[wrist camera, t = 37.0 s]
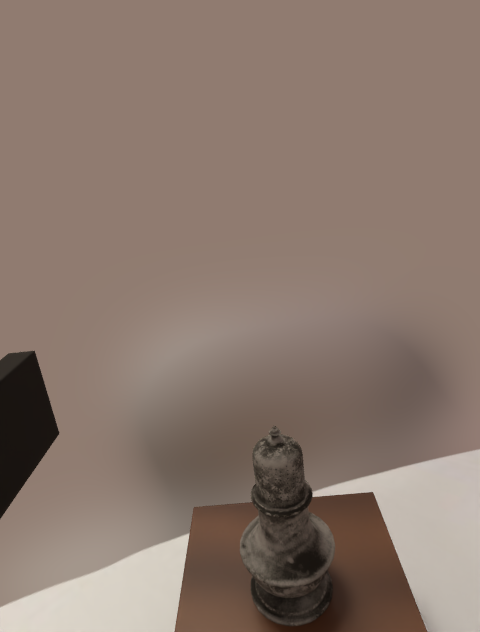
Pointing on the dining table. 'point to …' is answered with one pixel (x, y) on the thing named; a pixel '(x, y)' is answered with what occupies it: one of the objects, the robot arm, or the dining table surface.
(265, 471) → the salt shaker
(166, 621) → the dining table surface
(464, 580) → the dining table surface
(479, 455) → the dining table surface
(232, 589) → the lid
